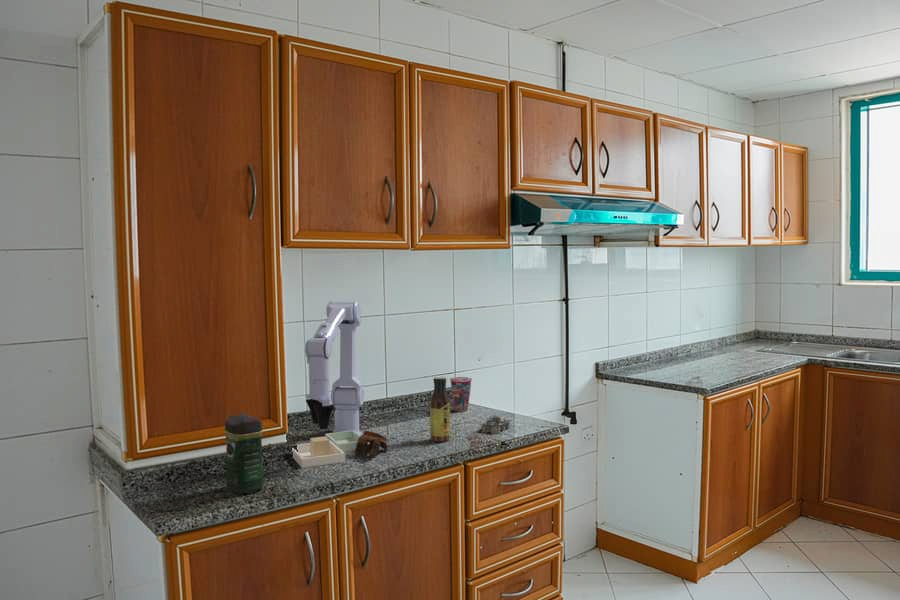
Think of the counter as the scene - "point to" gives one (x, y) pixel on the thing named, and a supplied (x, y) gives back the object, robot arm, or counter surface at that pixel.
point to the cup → (460, 393)
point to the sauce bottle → (440, 412)
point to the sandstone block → (319, 446)
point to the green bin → (344, 440)
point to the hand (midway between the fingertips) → (320, 425)
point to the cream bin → (307, 460)
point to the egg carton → (495, 424)
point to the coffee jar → (243, 454)
